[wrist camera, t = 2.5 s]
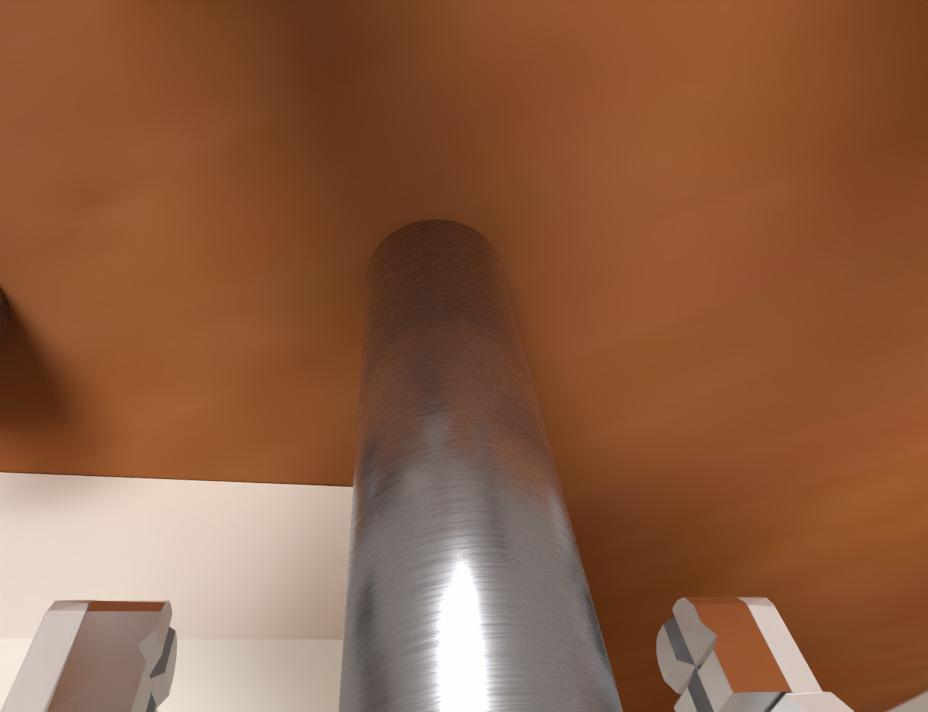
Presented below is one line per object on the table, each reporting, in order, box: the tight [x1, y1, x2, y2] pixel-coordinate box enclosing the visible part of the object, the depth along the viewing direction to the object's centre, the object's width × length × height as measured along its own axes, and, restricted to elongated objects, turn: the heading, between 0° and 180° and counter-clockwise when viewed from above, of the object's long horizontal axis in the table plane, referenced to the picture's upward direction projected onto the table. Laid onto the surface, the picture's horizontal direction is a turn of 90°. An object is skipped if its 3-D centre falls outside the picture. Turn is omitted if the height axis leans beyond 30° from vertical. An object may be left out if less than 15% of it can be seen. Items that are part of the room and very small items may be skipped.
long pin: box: [339, 220, 623, 712], centre depth 14 cm, size 4×4×14 cm
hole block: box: [0, 472, 353, 712], centre depth 26 cm, size 18×18×6 cm
